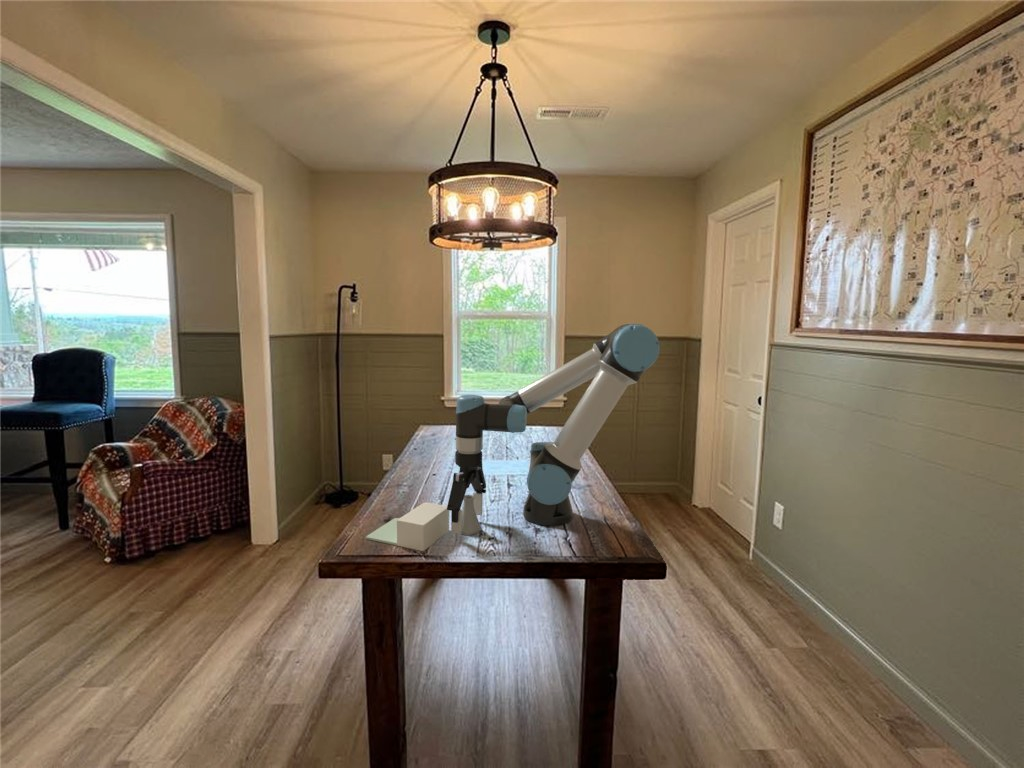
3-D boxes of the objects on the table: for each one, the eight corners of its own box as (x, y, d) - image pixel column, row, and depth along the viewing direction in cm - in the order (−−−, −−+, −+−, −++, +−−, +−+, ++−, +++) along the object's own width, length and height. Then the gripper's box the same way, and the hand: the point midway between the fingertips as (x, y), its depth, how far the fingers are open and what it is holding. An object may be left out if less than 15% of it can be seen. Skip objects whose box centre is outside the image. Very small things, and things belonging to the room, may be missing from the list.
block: (449, 529, 137) (449, 506, 137) (423, 551, 124) (423, 525, 124) (424, 525, 140) (424, 502, 139) (397, 545, 127) (396, 520, 126)
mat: (424, 525, 140) (424, 523, 140) (397, 545, 127) (396, 543, 127) (395, 519, 144) (395, 517, 144) (365, 538, 131) (365, 536, 131)
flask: (468, 522, 143) (468, 490, 141) (486, 530, 138) (486, 496, 137) (450, 530, 137) (450, 496, 136) (468, 538, 133) (468, 503, 131)
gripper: (475, 439, 147) (474, 505, 150) (434, 460, 124) (433, 538, 127) (498, 442, 145) (496, 509, 148) (460, 464, 122) (459, 543, 124)
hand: (467, 523), depth 137 cm, fingers open, 13 cm apart
